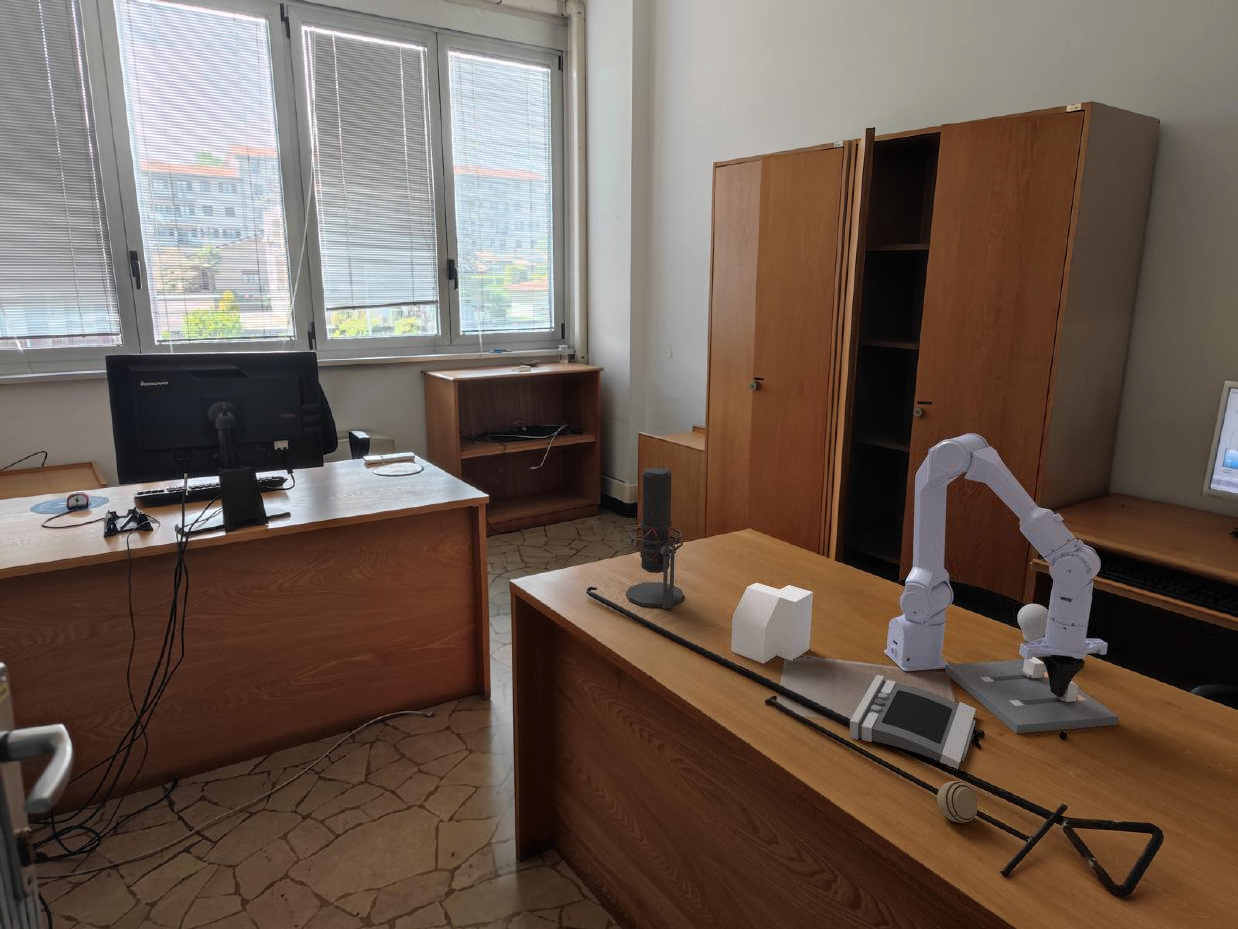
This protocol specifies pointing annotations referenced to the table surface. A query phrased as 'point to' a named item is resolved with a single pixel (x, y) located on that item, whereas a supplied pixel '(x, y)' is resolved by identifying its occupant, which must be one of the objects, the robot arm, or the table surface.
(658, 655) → the table surface
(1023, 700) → the panel
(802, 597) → the white chamfered block
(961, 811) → the door knob
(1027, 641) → the light bulb
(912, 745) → the alarm clock
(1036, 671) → the breaker on
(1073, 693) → the breaker
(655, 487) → the microphone
